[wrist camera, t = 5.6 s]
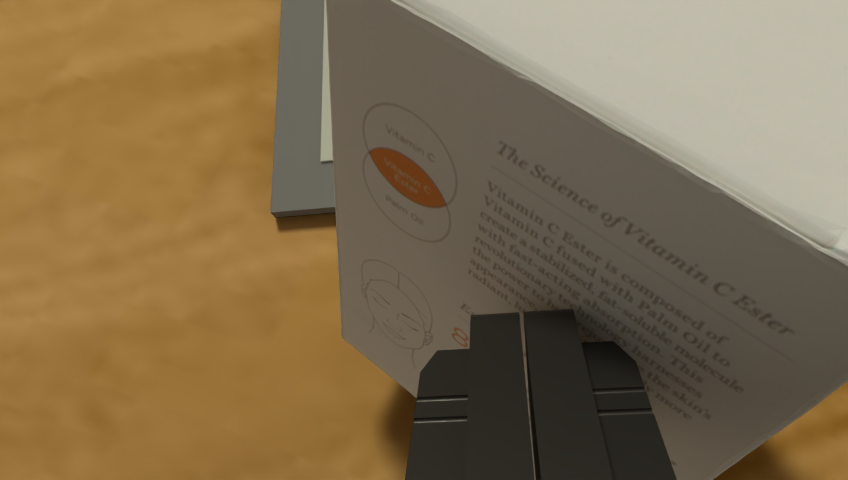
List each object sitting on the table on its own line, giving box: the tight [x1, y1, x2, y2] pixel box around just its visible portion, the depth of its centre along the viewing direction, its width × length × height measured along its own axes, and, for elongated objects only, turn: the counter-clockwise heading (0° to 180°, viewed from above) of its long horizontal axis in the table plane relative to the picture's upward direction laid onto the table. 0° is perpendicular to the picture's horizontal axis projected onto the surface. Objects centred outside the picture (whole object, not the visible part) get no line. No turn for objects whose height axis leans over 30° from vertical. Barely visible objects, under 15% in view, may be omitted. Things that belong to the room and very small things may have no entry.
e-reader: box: [271, 0, 336, 217], centre depth 22 cm, size 16×12×1 cm
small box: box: [326, 0, 848, 480], centre depth 13 cm, size 8×6×10 cm
